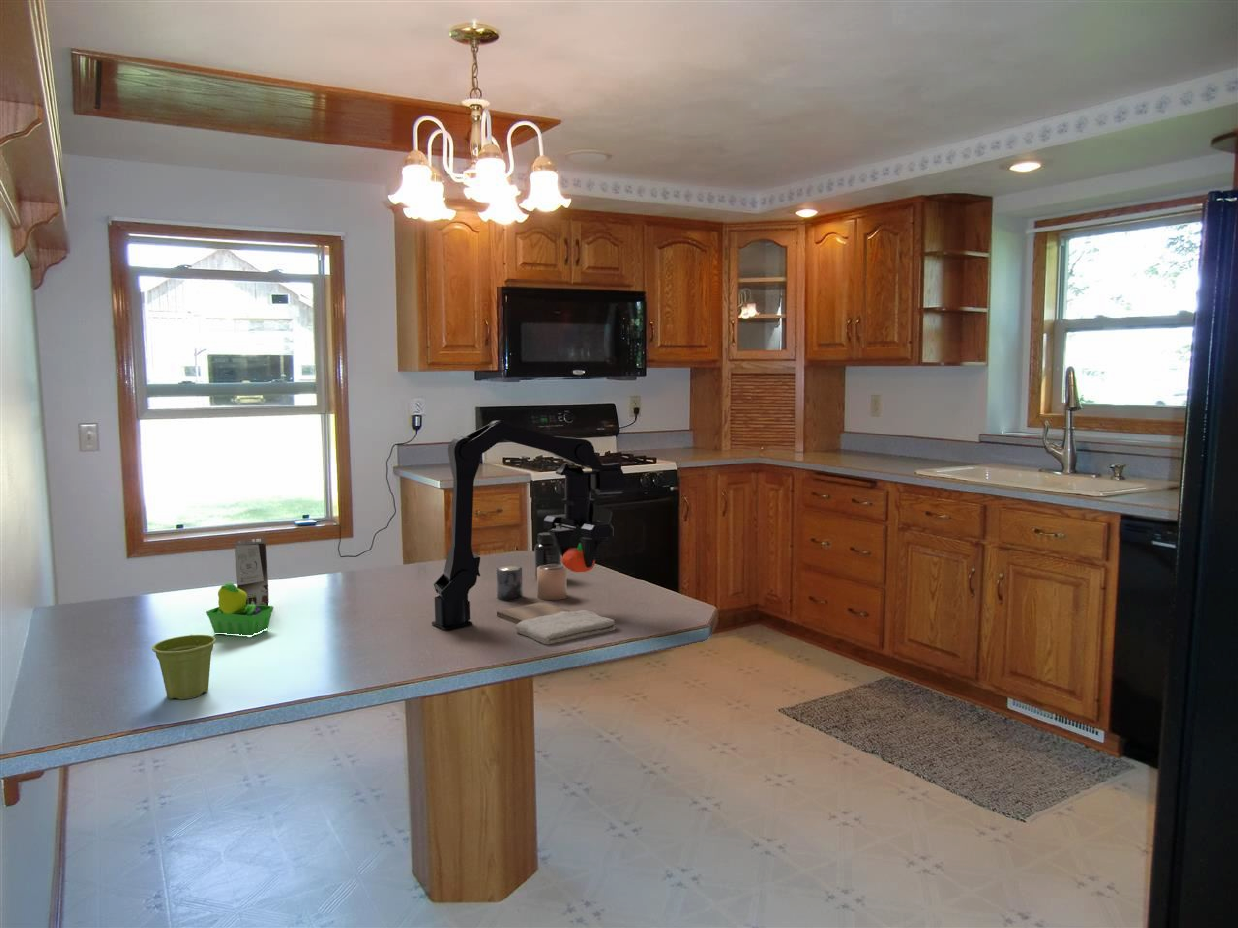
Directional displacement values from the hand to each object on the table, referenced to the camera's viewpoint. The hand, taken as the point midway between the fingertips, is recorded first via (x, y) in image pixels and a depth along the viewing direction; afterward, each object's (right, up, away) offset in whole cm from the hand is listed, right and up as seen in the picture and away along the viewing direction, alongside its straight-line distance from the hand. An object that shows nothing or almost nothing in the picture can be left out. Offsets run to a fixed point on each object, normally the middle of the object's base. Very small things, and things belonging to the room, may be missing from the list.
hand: (577, 564), depth 191 cm
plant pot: (-62, -16, -49) cm, 81 cm away
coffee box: (-74, -11, +4) cm, 75 cm away
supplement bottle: (-9, -8, +32) cm, 35 cm away
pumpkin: (0, -2, 0) cm, 2 cm away
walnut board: (-9, -11, -4) cm, 15 cm away
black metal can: (-17, -9, +13) cm, 23 cm away
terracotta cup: (-7, -9, +14) cm, 18 cm away
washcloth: (-1, -13, -15) cm, 20 cm away
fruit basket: (-69, -13, -14) cm, 72 cm away
